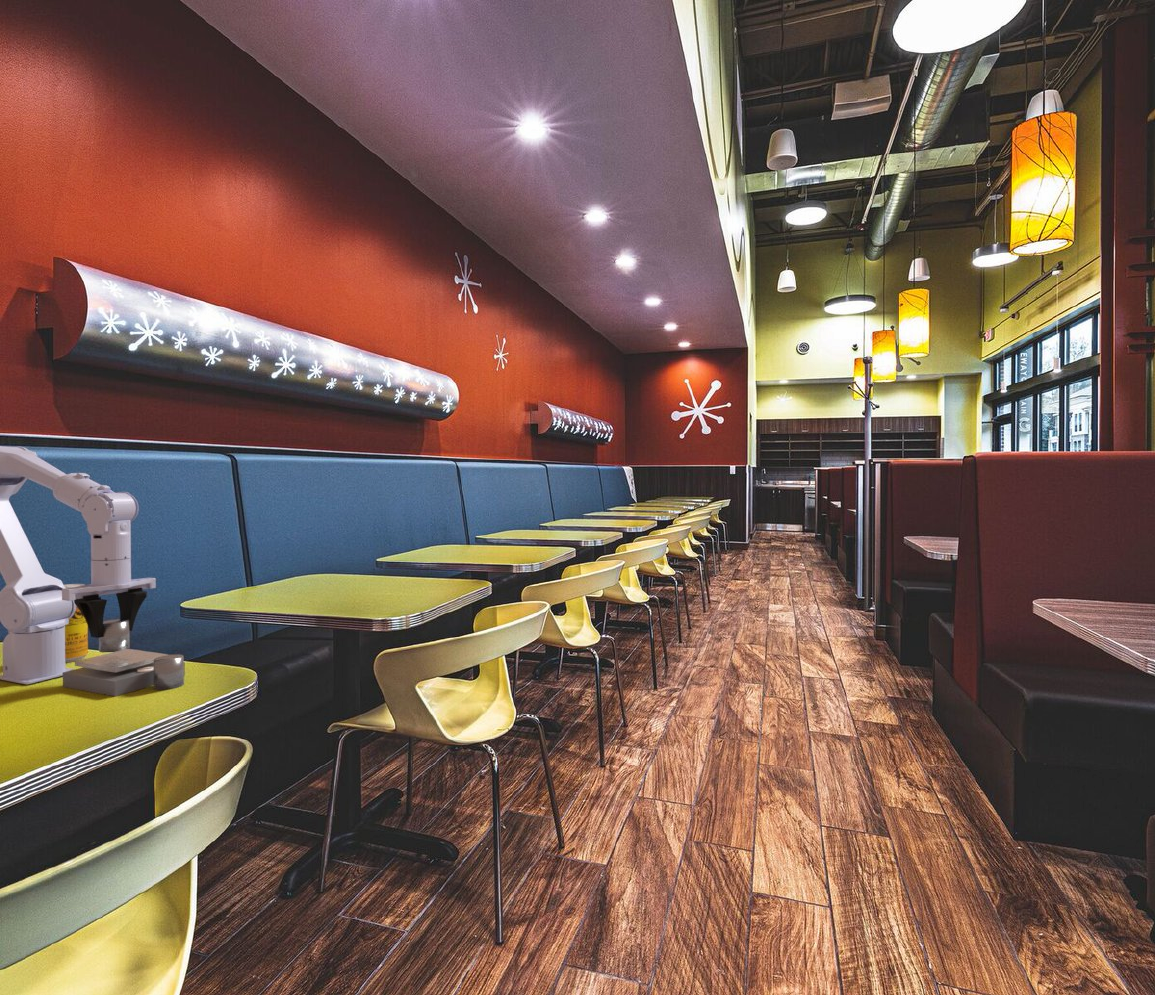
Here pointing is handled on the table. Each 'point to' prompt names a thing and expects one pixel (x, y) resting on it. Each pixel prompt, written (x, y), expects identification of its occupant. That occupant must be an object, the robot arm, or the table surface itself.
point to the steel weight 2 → (168, 672)
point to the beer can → (76, 635)
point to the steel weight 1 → (115, 636)
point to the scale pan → (119, 660)
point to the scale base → (110, 680)
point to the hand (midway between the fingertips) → (111, 633)
